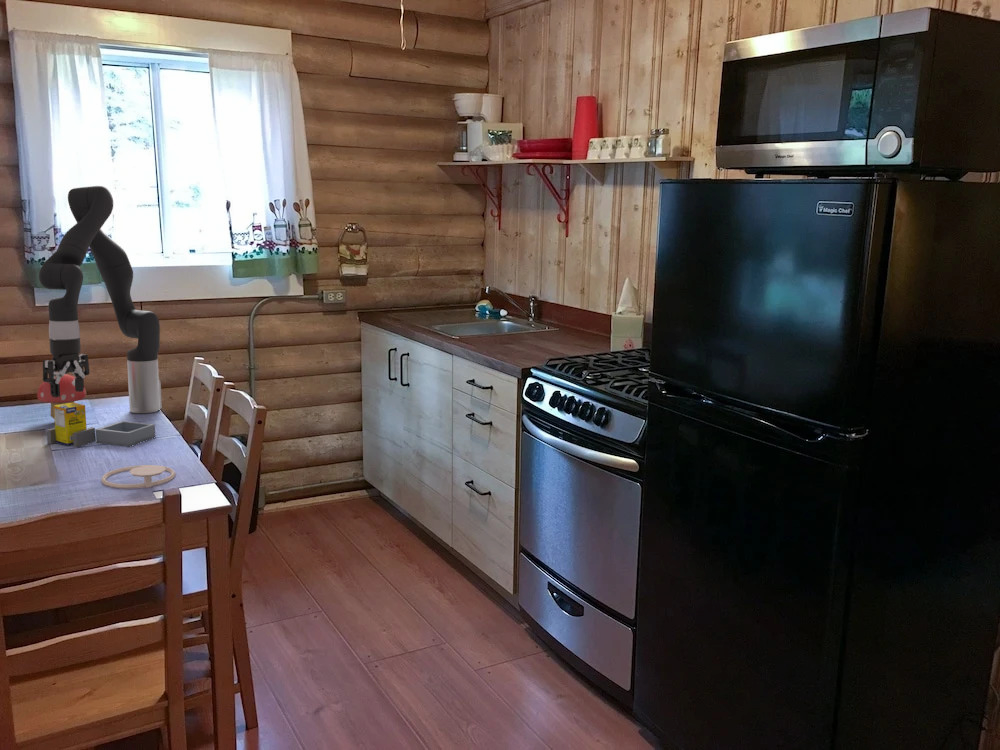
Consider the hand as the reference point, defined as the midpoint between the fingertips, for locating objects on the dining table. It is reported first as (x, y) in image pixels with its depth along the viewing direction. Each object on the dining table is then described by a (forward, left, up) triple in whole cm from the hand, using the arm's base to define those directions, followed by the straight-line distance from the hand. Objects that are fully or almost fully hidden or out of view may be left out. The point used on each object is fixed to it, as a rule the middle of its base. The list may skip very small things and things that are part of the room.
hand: (67, 394), depth 230 cm
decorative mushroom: (-18, -19, -14) cm, 30 cm away
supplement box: (0, 0, -14) cm, 14 cm away
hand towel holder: (+21, +40, -15) cm, 47 cm away
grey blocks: (0, 0, -14) cm, 14 cm away
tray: (-8, +12, -14) cm, 20 cm away
